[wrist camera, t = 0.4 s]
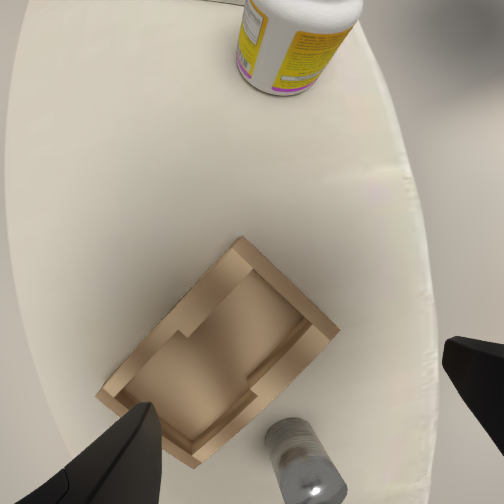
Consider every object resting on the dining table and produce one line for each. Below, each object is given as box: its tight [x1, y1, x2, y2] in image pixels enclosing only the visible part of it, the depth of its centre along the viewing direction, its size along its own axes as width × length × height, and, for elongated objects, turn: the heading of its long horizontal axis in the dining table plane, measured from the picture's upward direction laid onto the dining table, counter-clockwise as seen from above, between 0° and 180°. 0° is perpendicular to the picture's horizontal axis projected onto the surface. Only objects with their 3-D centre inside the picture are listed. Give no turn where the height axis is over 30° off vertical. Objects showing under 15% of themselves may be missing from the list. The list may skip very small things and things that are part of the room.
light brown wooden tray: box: [95, 236, 340, 469], centre depth 21 cm, size 15×9×2 cm, turn 136°
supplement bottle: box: [237, 0, 363, 96], centre depth 16 cm, size 7×7×13 cm
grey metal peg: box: [265, 418, 348, 504], centre depth 19 cm, size 4×4×8 cm
